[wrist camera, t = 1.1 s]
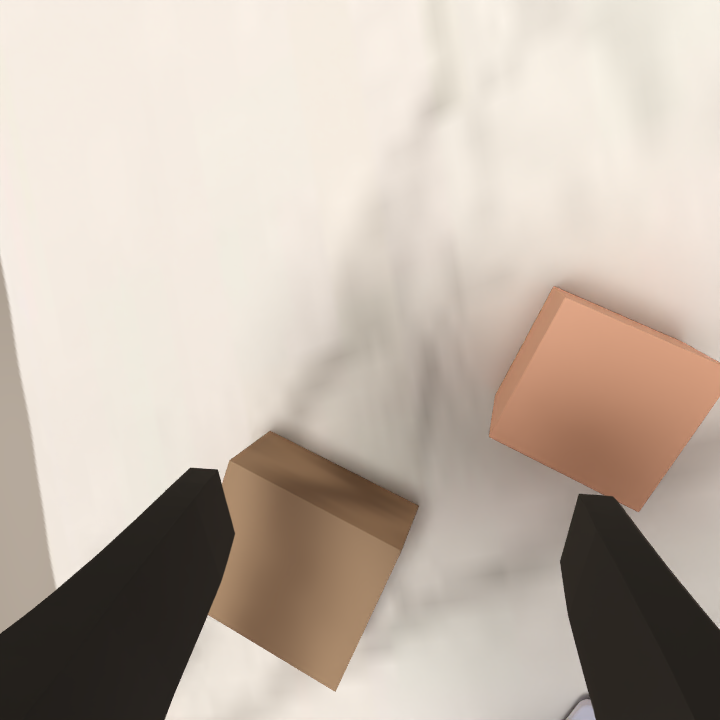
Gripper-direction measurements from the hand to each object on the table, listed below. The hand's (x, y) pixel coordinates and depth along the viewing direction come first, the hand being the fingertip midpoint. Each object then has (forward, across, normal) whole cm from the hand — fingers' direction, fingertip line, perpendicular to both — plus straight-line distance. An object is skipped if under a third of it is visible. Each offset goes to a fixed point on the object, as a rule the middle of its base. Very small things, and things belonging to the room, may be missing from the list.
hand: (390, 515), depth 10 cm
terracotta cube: (+10, -7, +3) cm, 13 cm away
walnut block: (+9, +4, +13) cm, 16 cm away
